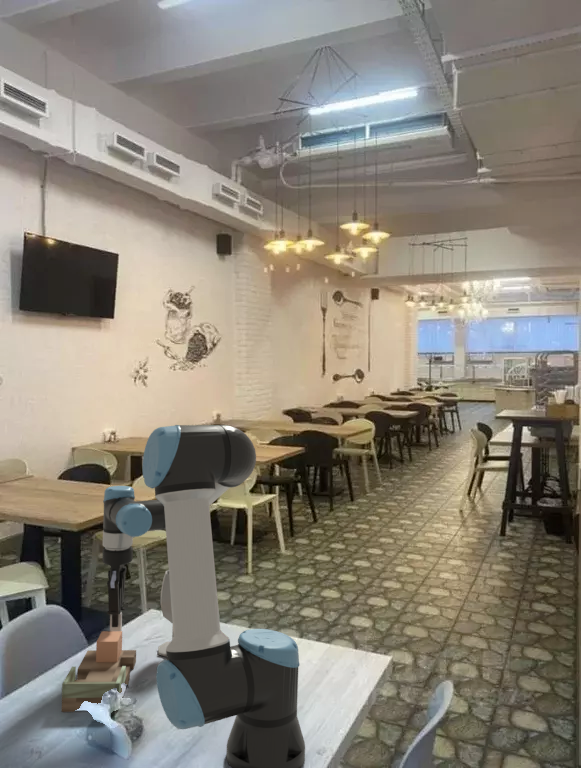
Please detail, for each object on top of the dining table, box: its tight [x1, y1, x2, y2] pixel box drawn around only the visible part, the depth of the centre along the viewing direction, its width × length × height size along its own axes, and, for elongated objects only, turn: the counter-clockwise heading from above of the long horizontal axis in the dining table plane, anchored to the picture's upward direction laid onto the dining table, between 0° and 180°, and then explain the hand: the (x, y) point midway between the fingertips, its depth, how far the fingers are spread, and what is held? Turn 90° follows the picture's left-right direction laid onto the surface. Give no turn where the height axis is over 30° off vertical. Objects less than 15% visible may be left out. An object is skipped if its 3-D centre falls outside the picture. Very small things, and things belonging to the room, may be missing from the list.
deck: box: [61, 649, 137, 713], centre depth 145 cm, size 23×12×6 cm, turn 5°
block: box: [95, 630, 123, 662], centre depth 153 cm, size 6×5×5 cm
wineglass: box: [157, 569, 174, 658], centre depth 164 cm, size 9×9×21 cm
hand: (115, 637), depth 161 cm, fingers closed
